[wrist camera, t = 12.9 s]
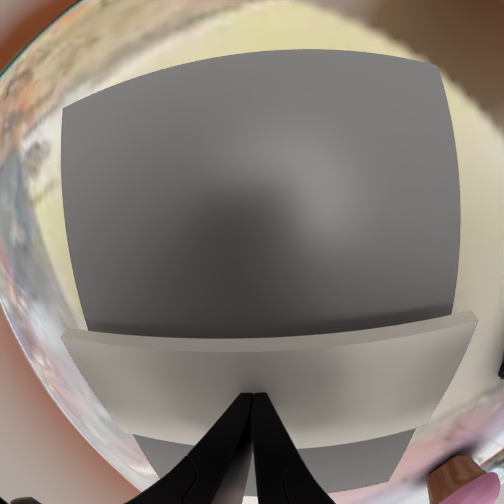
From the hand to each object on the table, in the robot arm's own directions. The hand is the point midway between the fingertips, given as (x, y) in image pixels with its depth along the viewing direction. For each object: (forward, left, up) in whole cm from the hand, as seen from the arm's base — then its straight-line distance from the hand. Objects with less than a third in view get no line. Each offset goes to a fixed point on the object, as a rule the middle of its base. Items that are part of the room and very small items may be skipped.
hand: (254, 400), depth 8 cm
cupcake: (-20, +22, -6) cm, 30 cm away
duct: (0, 0, -6) cm, 6 cm away
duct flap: (0, +1, -1) cm, 1 cm away
